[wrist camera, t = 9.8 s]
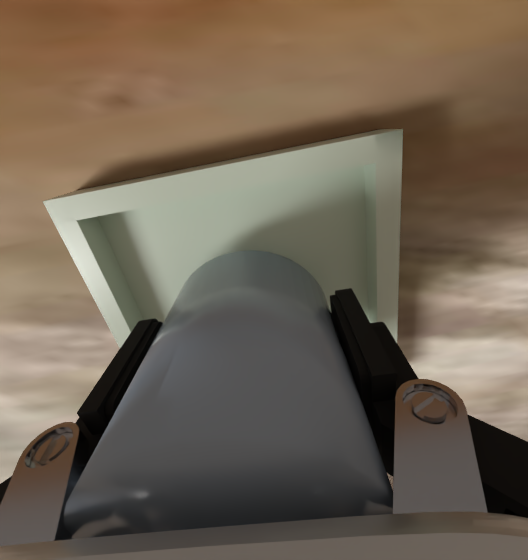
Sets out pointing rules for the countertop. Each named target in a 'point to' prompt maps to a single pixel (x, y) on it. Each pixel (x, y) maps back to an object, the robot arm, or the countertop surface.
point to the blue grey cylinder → (235, 414)
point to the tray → (243, 225)
